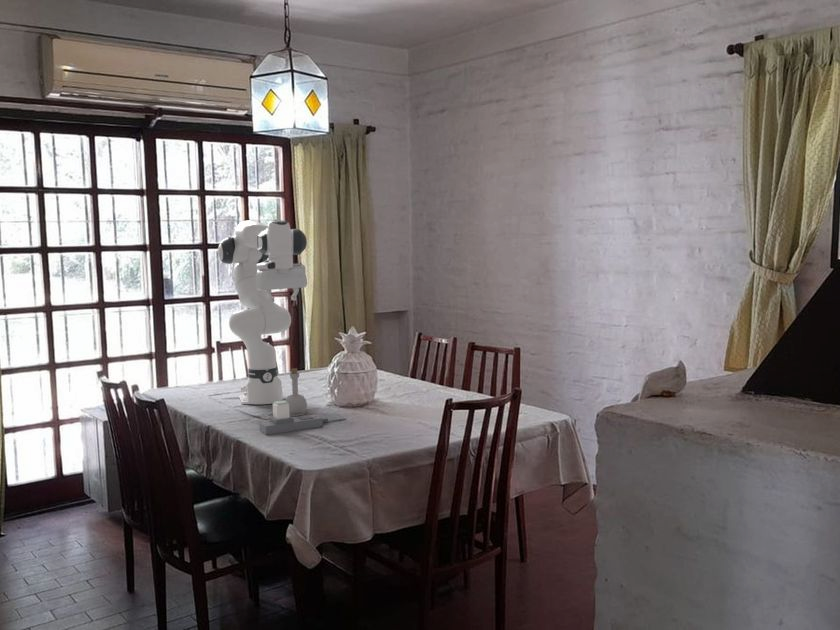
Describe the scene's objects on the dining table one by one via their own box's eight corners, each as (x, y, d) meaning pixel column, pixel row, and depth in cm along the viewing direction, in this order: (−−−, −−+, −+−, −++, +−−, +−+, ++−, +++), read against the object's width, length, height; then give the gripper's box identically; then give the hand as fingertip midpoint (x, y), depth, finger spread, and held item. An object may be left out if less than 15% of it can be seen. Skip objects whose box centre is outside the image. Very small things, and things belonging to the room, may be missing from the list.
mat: (310, 418, 296) (310, 416, 296) (335, 414, 301) (335, 413, 301) (320, 423, 288) (320, 421, 288) (345, 419, 292) (345, 418, 292)
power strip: (259, 430, 279) (259, 418, 279) (324, 421, 291) (324, 409, 291) (265, 434, 273) (265, 422, 273) (331, 424, 285) (331, 412, 284)
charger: (273, 421, 280) (272, 401, 279) (285, 419, 282) (284, 399, 282) (277, 423, 276) (276, 403, 275) (289, 421, 278) (289, 402, 278)
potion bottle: (285, 417, 299) (283, 370, 297) (284, 412, 308) (282, 366, 306) (308, 415, 301) (306, 369, 299) (307, 410, 309) (305, 365, 307)
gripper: (300, 262, 302) (302, 298, 303) (252, 265, 289) (254, 302, 290) (309, 262, 297) (311, 299, 298) (260, 265, 284) (262, 303, 285)
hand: (282, 301), depth 294 cm, fingers open, 8 cm apart
